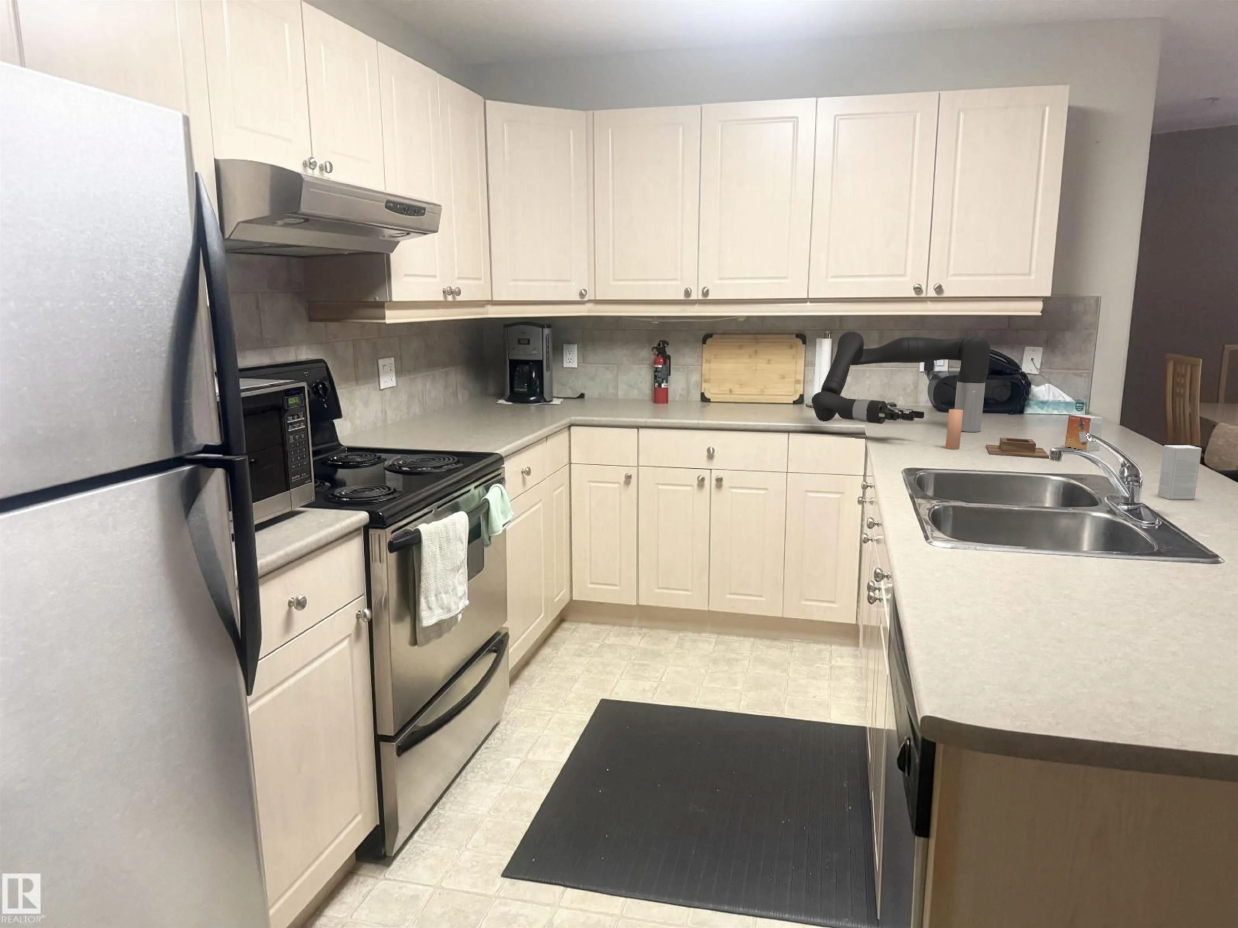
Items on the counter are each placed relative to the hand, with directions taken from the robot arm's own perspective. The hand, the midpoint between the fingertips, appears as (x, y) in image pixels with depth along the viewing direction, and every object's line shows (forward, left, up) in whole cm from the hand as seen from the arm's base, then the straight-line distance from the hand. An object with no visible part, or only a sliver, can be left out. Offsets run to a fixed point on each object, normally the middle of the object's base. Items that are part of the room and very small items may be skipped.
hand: (918, 416), depth 253 cm
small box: (-14, +49, -9) cm, 51 cm away
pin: (+3, +11, -9) cm, 14 cm away
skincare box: (+55, +57, -9) cm, 80 cm away
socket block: (+2, +29, -9) cm, 30 cm away
